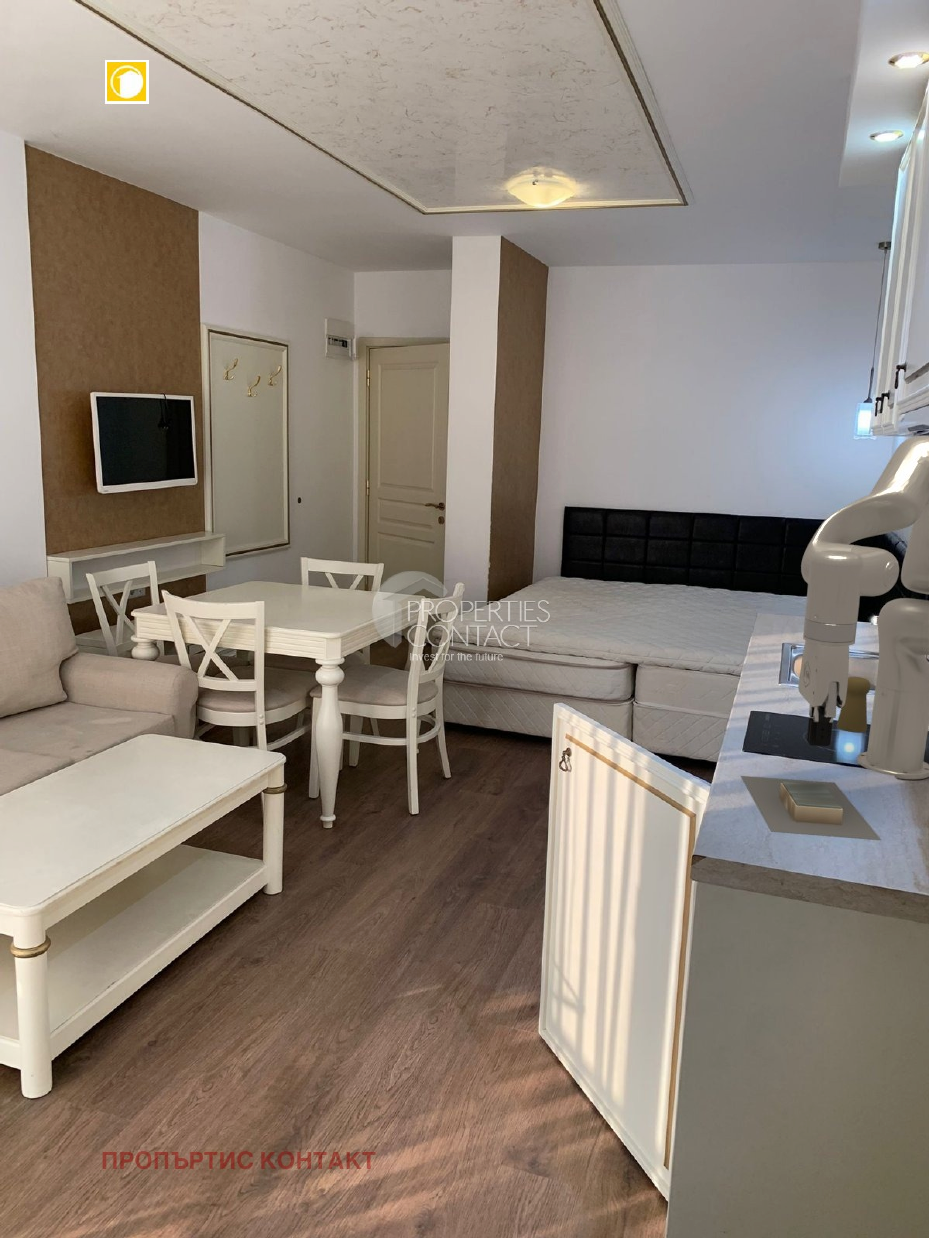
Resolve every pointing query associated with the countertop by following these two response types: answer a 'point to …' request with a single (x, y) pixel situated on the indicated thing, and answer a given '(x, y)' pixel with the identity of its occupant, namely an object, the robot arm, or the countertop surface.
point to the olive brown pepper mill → (855, 706)
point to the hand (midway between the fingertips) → (818, 743)
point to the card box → (810, 803)
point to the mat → (781, 821)
